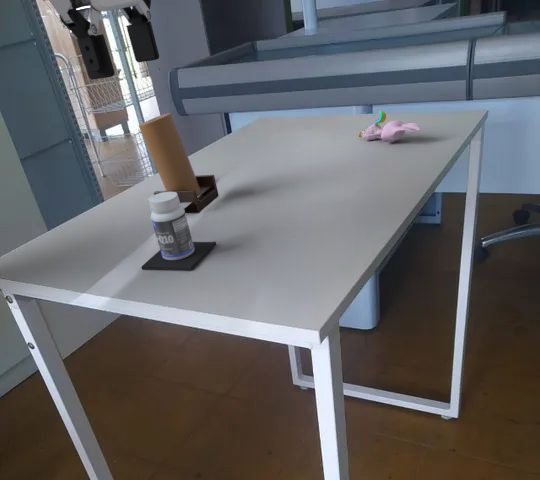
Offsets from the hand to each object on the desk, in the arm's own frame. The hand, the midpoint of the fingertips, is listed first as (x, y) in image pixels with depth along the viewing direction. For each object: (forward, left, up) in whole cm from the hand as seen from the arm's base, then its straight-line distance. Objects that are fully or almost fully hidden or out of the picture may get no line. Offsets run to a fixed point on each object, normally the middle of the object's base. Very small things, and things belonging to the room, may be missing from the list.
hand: (126, 68), depth 64 cm
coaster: (0, 0, -24) cm, 24 cm away
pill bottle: (0, 0, -24) cm, 24 cm away
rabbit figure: (+20, +50, -24) cm, 59 cm away
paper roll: (-13, +20, -17) cm, 29 cm away
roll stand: (-9, +20, -24) cm, 33 cm away
